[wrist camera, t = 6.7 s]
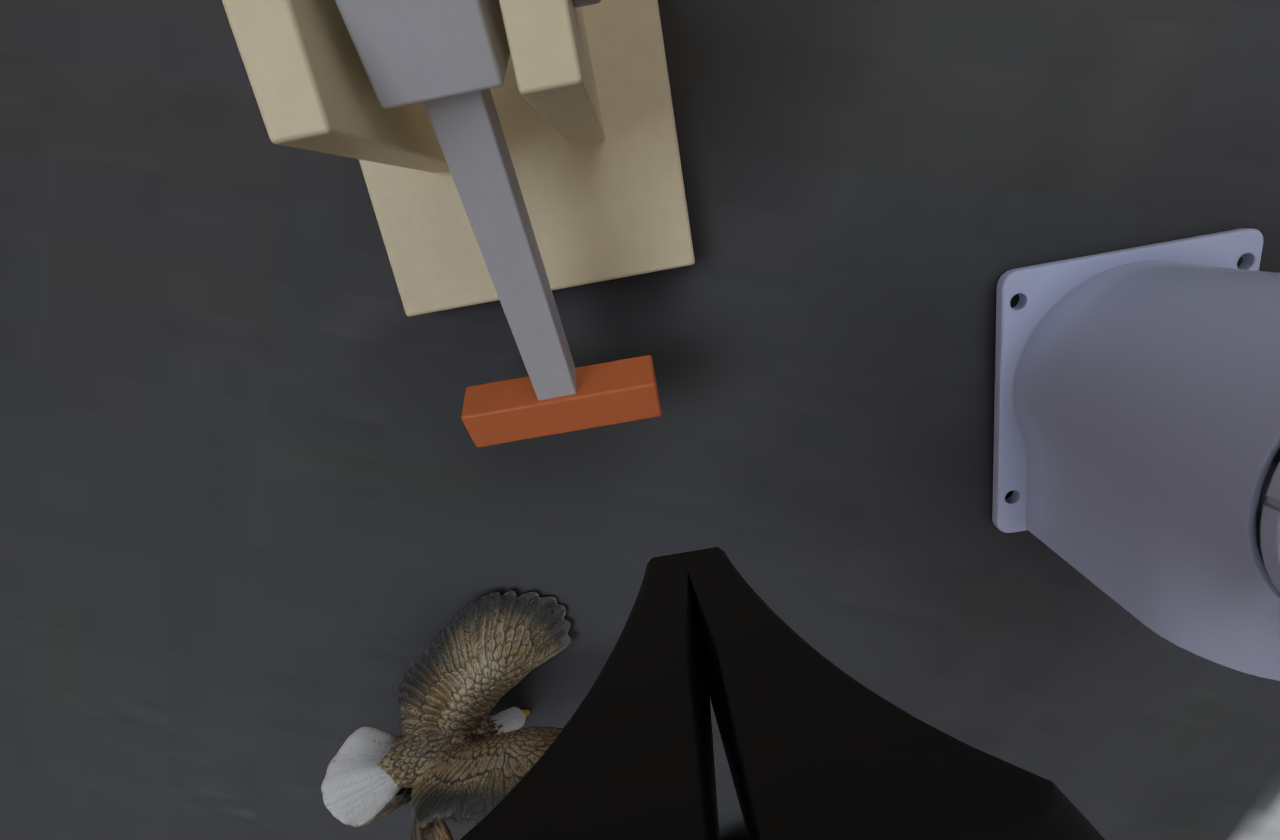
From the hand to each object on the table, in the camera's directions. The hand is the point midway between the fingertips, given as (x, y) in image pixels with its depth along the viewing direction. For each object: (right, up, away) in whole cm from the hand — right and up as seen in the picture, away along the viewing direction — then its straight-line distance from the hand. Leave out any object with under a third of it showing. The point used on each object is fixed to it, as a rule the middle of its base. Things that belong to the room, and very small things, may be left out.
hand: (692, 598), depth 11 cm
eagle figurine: (-7, -7, +14) cm, 17 cm away
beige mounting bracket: (-5, +13, +6) cm, 15 cm away
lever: (-4, +8, +3) cm, 10 cm away
